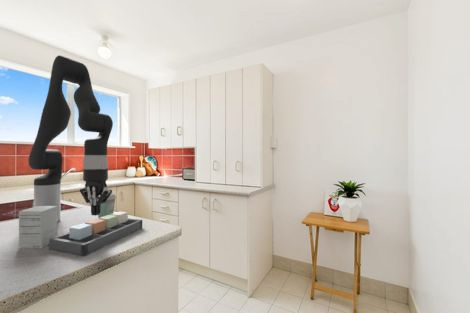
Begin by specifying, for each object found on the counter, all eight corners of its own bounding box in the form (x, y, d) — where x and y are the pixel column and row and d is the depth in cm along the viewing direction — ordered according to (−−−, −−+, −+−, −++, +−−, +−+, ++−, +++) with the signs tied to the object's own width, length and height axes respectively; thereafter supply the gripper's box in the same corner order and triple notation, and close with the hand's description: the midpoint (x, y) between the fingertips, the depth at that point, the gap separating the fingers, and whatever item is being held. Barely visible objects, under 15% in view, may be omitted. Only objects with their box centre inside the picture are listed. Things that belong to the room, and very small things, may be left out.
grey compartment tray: (49, 249, 70) (49, 238, 70) (114, 224, 95) (114, 216, 95) (84, 256, 66) (84, 244, 66) (142, 228, 91) (142, 220, 91)
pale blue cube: (69, 238, 71) (69, 227, 71) (82, 233, 75) (82, 223, 75) (79, 239, 70) (79, 229, 69) (91, 235, 74) (91, 224, 74)
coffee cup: (106, 222, 97) (106, 196, 97) (90, 221, 99) (90, 195, 99) (120, 217, 106) (120, 193, 105) (105, 216, 107) (105, 192, 107)
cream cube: (110, 222, 87) (110, 214, 87) (119, 219, 91) (119, 211, 91) (119, 224, 85) (119, 215, 85) (127, 220, 90) (127, 212, 90)
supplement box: (36, 240, 77) (36, 205, 77) (58, 239, 78) (58, 205, 78) (17, 249, 70) (17, 211, 70) (41, 248, 70) (41, 210, 70)
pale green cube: (98, 227, 81) (98, 218, 81) (108, 223, 86) (108, 214, 86) (107, 228, 80) (107, 219, 80) (117, 224, 84) (117, 215, 84)
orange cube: (84, 232, 76) (85, 222, 76) (96, 228, 80) (96, 218, 80) (94, 233, 75) (94, 223, 75) (105, 229, 79) (105, 220, 79)
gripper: (71, 167, 75) (71, 216, 76) (101, 168, 72) (101, 219, 72) (91, 166, 83) (91, 210, 83) (118, 167, 79) (118, 213, 79)
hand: (95, 214), depth 77 cm, fingers closed
